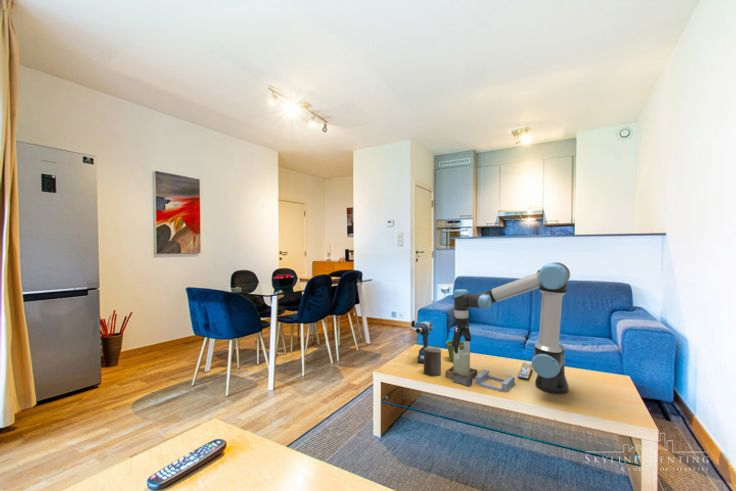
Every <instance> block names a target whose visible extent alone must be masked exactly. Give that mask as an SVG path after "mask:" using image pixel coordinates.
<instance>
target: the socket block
mask: <svg viewBox="0 0 736 491" xmlns="http://www.w3.org/2000/svg"><path fill="white" fill-rule="evenodd" d="M515 378H516V377H515V375H514V376H513V375H509V376H507V377H506V378H502V377H499V376H495V375H490V370H487V369H483V370H482V371H480V373H477V376H475V378H474V379H475V382H474V383H475V385H477V384H478V386H479V387H481V386H482V388H485V387H486V389H490V390H492V389H493V391H496V390H497V392H504V393H508V392H509V391H510V390H509V389H512V388H513V387H514V386H515V381H516V380H515ZM493 379H494V381H497V380H498V381H497V382H501V381H502V382H501V387H500V386H495V385H492V384H488V383H484V381H485V382H486V381H487V380H493ZM508 390H509V391H508Z"/></svg>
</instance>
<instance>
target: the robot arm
mask: <svg viewBox="0 0 736 491" xmlns="http://www.w3.org/2000/svg"><path fill="white" fill-rule="evenodd" d="M570 277H571V271H570V269H569V268H568V267H567V266H566V265H565V264H563V263H561V262H551V263H547V264H545V265H543V266H542V267H541V268H540V269H538V270H537V271H536V273H533V274H529V275H528V276H524V277H522V278H521V277H520V278H519V279H516V280H513V281H511V282H508V283H505V284H502V285H499V286H497V287H495V288H492V289H487V290H485V291H482V292H480V293H478V294H477V293H475V294H474V293H469V291H468V290H467V289H464V288H463V289H461V288H460V289H459V288H458V289H455V290H454V291H453V303H454V304H453V305H454V308H453V309H454V310H453V313H454V325H455V326H456V327H454V329H453V331H454V332H453V337H452V341H453V342H452V346H453V347H454V359H460V353H459V343H460V341H461V339H462V337H463V339H464V341H463V342H464V344H465V345H464V350H465V351H468V352H471V351H470V348H471V346H470V342H471V341H472V336H471V331H470V328H469V327H470V326H469V321H470V320H469V308H472V309H479V310H480V309H481V310H489V309H490V308H491V306H492V305H493V304H494V303H498V302H500V301H503V300H507V299H510V298H513V297H517V296H518V295H522V294H524V293H528V292H531V291H534V290H536V289H537V290H539V292H540V293H541V305H540V306H541V307H540V318H539V332H538V342H537V343H535V345H534V349H533V351H534V352H533V357H532V359H531V367H532V369H533V371H534V372H535V373H536V374H537V375H536V377H535V381H534V386H535V387H536V388H537V389H539V390H541V391H543V392H546V393H550V394H558V395H559V394H560V395H562V394H566V393H568V392H569V390H570V389H569V383H568V381H567V378H566V374H565V352H566V350H565V345H564V344H562V343H560V333H561V323H562V322H561V320H562V308H563V297H564V295H566V294H567V291H568V290H567V289H568V282H569V280H570Z"/></svg>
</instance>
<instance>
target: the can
mask: <svg viewBox="0 0 736 491" xmlns="http://www.w3.org/2000/svg"><path fill="white" fill-rule="evenodd" d="M470 352H471V351H470ZM470 352H468V351H465V349H463V350H459V353H460V359H454V351H453V362H452V363H453V364H452V366H453V372H454V373H458V374H462V375H466V376H467V375H469V374H470V368H471V367H470V366H471V365H470V364H471V363H470V362H471V360H470V359H471V353H470Z"/></svg>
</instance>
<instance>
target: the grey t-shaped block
mask: <svg viewBox="0 0 736 491" xmlns="http://www.w3.org/2000/svg"><path fill="white" fill-rule="evenodd" d="M452 382H454V383H457V384H461V385H464V386H467V387H470V386H471V385H472V384H473V380H472V377H470V376H469V377H464V376H460V375H456V374H455V375H454V376H453V379H452Z"/></svg>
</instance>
